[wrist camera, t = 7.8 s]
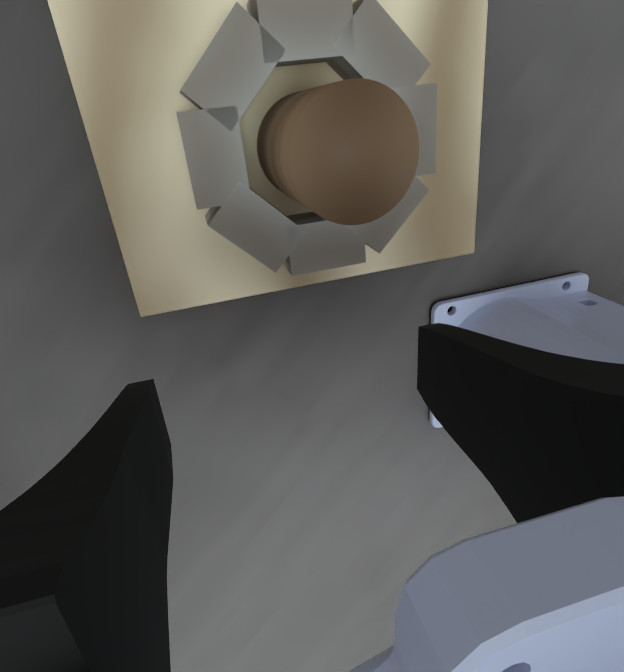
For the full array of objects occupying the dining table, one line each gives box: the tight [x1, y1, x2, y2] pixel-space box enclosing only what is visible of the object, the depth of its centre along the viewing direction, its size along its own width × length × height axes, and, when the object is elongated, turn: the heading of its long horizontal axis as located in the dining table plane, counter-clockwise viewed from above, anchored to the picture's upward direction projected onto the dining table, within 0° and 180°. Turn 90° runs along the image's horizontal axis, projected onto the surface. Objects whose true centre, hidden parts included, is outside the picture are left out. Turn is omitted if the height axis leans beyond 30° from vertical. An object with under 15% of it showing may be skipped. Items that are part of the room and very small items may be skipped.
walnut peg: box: [257, 78, 419, 225], centre depth 16 cm, size 4×4×6 cm
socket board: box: [48, 0, 488, 317], centre depth 18 cm, size 16×12×3 cm
